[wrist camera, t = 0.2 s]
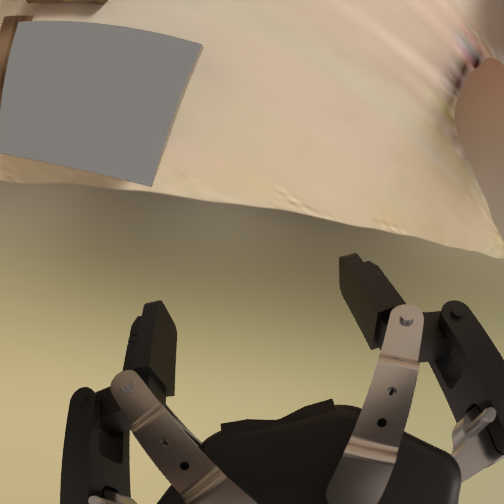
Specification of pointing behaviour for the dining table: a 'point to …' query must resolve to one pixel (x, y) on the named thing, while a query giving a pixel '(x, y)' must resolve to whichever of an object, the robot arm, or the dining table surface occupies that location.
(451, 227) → the dining table surface
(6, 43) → the stop rail
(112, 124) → the grey rectangular block
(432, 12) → the dining table surface
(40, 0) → the roller
